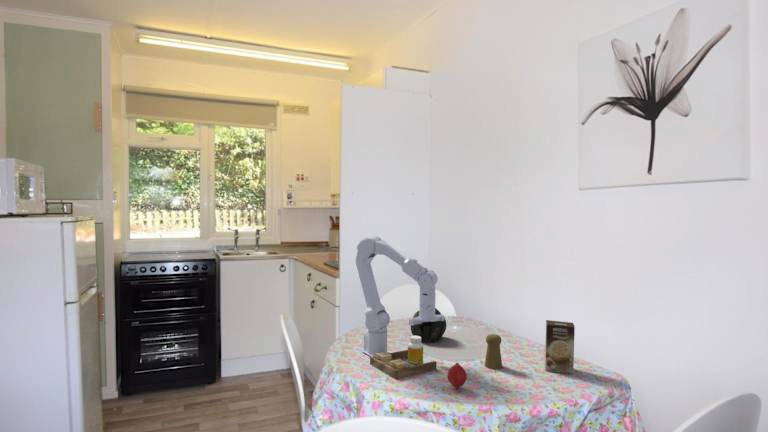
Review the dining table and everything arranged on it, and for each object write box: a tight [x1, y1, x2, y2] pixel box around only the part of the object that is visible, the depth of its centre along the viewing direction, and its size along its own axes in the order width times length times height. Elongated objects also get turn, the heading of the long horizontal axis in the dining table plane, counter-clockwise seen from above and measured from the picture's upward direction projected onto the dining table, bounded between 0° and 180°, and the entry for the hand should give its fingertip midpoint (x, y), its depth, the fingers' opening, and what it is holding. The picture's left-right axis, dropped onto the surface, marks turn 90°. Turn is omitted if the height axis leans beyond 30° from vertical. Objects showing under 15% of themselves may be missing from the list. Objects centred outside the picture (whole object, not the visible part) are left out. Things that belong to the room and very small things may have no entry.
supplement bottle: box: [407, 335, 424, 367], centre depth 156 cm, size 5×5×10 cm
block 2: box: [390, 359, 408, 370], centre depth 147 cm, size 4×4×4 cm
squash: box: [410, 307, 447, 342], centre depth 187 cm, size 14×15×15 cm
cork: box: [484, 333, 503, 370], centre depth 155 cm, size 6×6×11 cm
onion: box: [446, 362, 468, 389], centre depth 135 cm, size 6×6×8 cm
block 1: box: [376, 352, 392, 366], centre depth 155 cm, size 4×4×4 cm
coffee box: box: [544, 319, 576, 375], centre depth 152 cm, size 9×6×16 cm
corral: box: [369, 349, 437, 380], centre depth 154 cm, size 16×17×2 cm
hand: (426, 342), depth 159 cm, fingers closed
